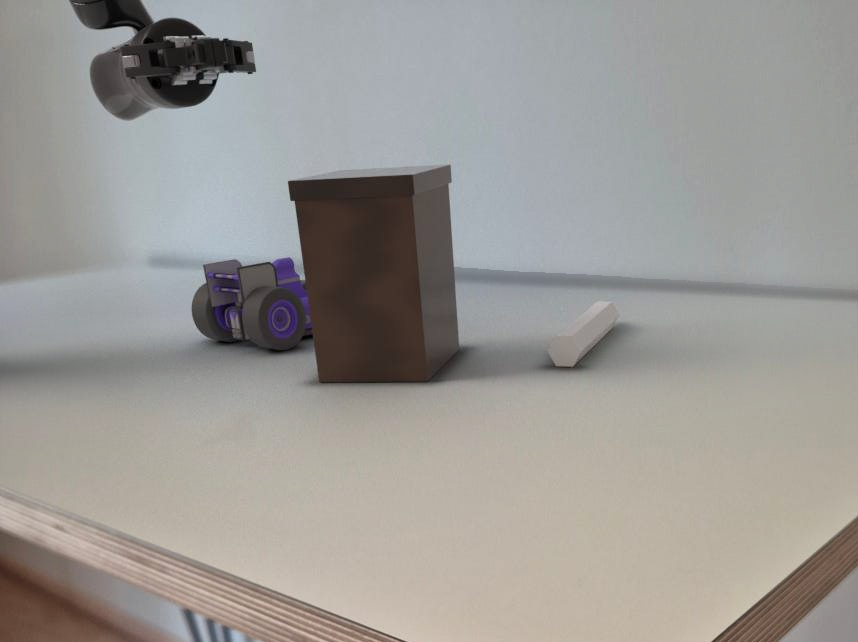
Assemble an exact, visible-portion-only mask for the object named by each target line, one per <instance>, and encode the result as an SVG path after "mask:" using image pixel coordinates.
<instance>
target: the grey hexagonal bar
mask: <svg viewBox="0 0 858 642" xmlns="http://www.w3.org/2000/svg"><path fill="white" fill-rule="evenodd" d="M619 317H620V313H619V311H618V310H617V308H616V306H615V304H614V303H613V301H596V302H595V303H594V304H592V305H591V306H590V307H589V308H587V309H586V310H585V311H584V312H583V313H581V314H580V315H579V316H578V317H576V318H575V319H574V320H573V321H572V322H570V323H568V325H566V326H565V327H564V328H563V329H562V330H561V331H559V332H558V333H557V334H556V335H555V336H554V338H553V340H552V342H551V344H550V346H549V347H548V349H547V353H548V355H549V356H550V358H551V360H552V361H553V363H554V365H555V366H556V367H571V368H573V367H574V366H575V365H576V364H577V363H578V362H579V361H580V360H581V359H582V358H583V357H584V356H585V355H587V354H588V352H590V351H591V349H593V348H594V346H596V345H597V344H598V343H599V342H600V341H601V340H602V339H603V338H604V337H605V336H606V335H607V334H608V333H609V332H610V331H611V330H612V329H613V327H614V326H615V324H616V322H617V321H618V319H619Z"/></svg>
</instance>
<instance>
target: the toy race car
mask: <svg viewBox="0 0 858 642" xmlns="http://www.w3.org/2000/svg"><path fill="white" fill-rule="evenodd" d="M202 267H203V273H204V278H205V283H203V284H201V285H200V286H199V287H198V288H197V290H196V291H195V293H194V295H193V298H192V301H191V317H192V321H193V324H194V325H195V327H196V329H197V330H198V331H199V332H200V333H201V334H202V335H203V336H204V337H206V338H208V339H210V340H214V341H222V342H227V343H233V342H237V341H246V340H250V341H251V342H252V343H254V344H255V345H256V346H258V347H261V348H265V349H271V350H277V351H286V350H290V349H292V348H294V347H295V346H297V344H299V342H301V340H302V338H303V337H306V336H310V335H311V336H313V333H312V326H311V318H310V311H309V304H308V296H307V289H306V282H305V279H301V276H300V275H299V274H298V273H297V271H296V270H295V262H294V260H293V258H291V257H290V256H287V257H282V258H278V259H275V260H273V262H271V261H265V262H259V263H254V264H249V265H243V264H242V263H241V262H240V261H239V260H238V259H235V258H234V259H229V260H222V261H218V262H211V263H205V264H202Z"/></svg>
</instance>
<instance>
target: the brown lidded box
mask: <svg viewBox="0 0 858 642" xmlns="http://www.w3.org/2000/svg"><path fill="white" fill-rule="evenodd" d="M452 182H453V179H452V165H451V164H433V165H415V166H397V167H395V166H394V167H378V168H377V167H376V168H359V169H357V168H355V169H341V170H335V171H330V172H326V173H320V174H316V175H310V176H305V177H300V178H295V179H291V180H287V186H288V193H289V200H290V202H294V208H295V216H296V222H297V230H298V236H299V237H298V238H299V244H300V251H301V258H302V266H303V273H304V280H305V282H306V289H307V296H308V304H309V311H310V318H311V326H312V333H313V334H312V340H313V346H314V354H315V362H316V369H317V376H318V382H319V383H409V382H410V383H413V382H415V383H418V382H420V383H423V382H428V381H430V380H431V379H432V378H433V376H435V375H436V374H437V372H438V371H440V370H441V368H443V366H444V365H446V363H447V362H448V361H450V360H451V358H452V357H453V356H454V355H455V354H456V353H457V352H459V350H460V338H459V323H458V308H457V307H458V306H457V293H456V291H457V290H456V277H455V260H454V248H453V247H454V246H453V233H452V231H453V230H452V217H451V214H452V213H451V201H450V185H449V184H452Z"/></svg>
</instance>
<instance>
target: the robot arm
mask: <svg viewBox="0 0 858 642" xmlns="http://www.w3.org/2000/svg"><path fill="white" fill-rule="evenodd" d="M68 1H69V3H70V5H71V8H72V10H73V12H74V14H75V15H76V18H77V19H78V21H79V22H80V23H81V24H82V25H83V26H84V27H86V28H87V29H90V30H93V31H95V30H96V31H104V30H105V31H106V30H112V29H116V28H130V29H132V31H133V34H134V35H133V36H131V37H129V38H127V39H125V40H123V41H121V42H119V43H117V44H115V45H113V46H111V47H109V48H107V49H105V50H103V51H101V52H99V53H98V54H96V55H95V56H94V57H92V60H91V61H90V65H89V79H90V80H89V81H90V84H91V88H92V91H93V93H94V95H95V96H96V98H97V100H98V102H99V103H100V104H101V105H102V108H104V109H105V110H106V111H107V112H108V113H109V114H110V115H112V116H114V117H115V118H117V119H119V120H121V121H125V122H128V121H131V122H132V121H133V120H136V119H139V118H140V117H143V116H144V115H146V114H148V113H150V112H151V111H154V110H157V109H166V110H167V109H168V110H177V109H184V108H185V109H186V108H190V107H191V108H192V107H195V106H198V105H200V104H202V103H204V102H205V101H206V100H208V98H209V97H210V96H211V95H212V94H213V92H214V90H215V88H216V86H217V83H218V80H219V76H220V74H227V73H228V74H234V73H235V74H236V73H237V74H238V73H243V74H246V73H247V75H253V74H254V73H256V72H257V67H256V66H257V65H256V60H255V59H256V58H255V52H254V46H253V42H250V41H249V40H243V41H242V40H237V39H229V37H226V38H225V37H224V38H222V39H221V40H220V38H219V37H211V36H210V35H207V34H206V33H205V32H204V31H203V30H202V29H201V28H200V27H198V26H197V25H195V24H194V23H193V22H191V21H188V20H187V19H184V18H180V17H165V18H162V19H159V20H155V18H154V16H153V15H152V14H151V12H150V11H149V9H148V7H147V6H146V3H145V2H144V1H143V0H68Z"/></svg>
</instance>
